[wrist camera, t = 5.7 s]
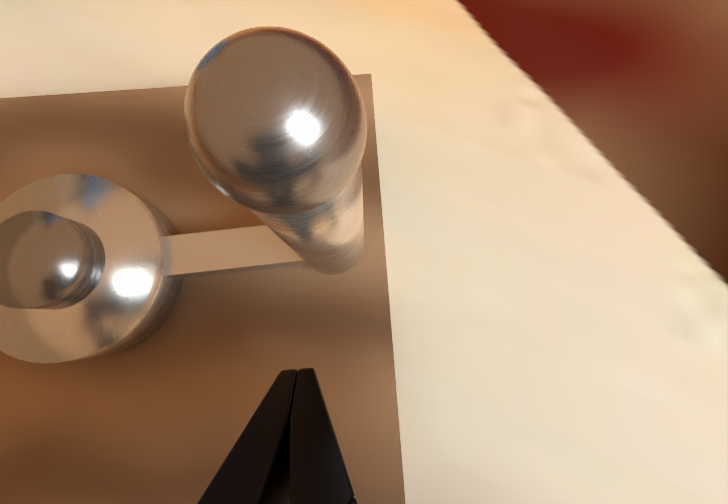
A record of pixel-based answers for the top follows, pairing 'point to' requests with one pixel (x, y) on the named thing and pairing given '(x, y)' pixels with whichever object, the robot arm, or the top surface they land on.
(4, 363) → the stand
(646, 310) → the top surface
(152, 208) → the metal post and dome
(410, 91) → the top surface
